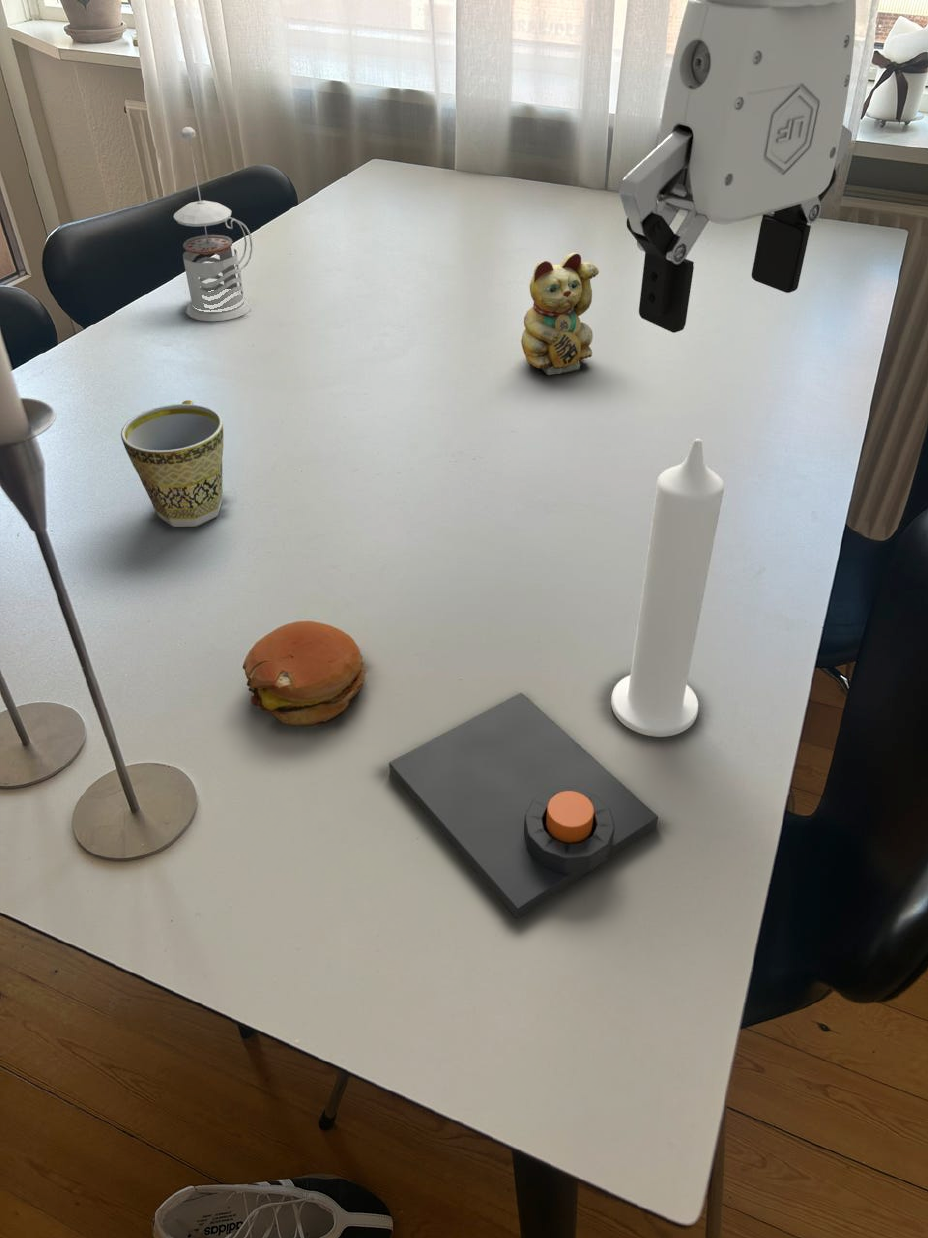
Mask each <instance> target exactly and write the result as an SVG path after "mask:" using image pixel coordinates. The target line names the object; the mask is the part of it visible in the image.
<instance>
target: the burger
mask: <svg viewBox="0 0 928 1238" xmlns="http://www.w3.org/2000/svg"><path fill="white" fill-rule="evenodd" d="M360 650H361V649H360V648H359V645H358V643H356V641H355V640H354V638H352V637H351V635H349V634H348V633H346V632H345V631H344V630H342V629H340V628H338V627H335V626H333V625H331V624H327V623H323V622H319V621H314V620H298V621H297V620H296V621H292V622H290V623H289V622H288V623H286V624H284V625H281V626H279V627H277V628H276V629H273V630H272V631H270V632H269V633H268V634H266V635H264V636H263V637H261V638H260V639H259V640H258V641H256V642H255V643H254V645H253V646H252V647H251V649H250V650H249V651H248V653H247V655H246V657H245V659H244V661H243V663H242V669H243V670H244V674H245V678H246V679H247V682H246V686H248V691H249V692H251V693H252V694H253V695H252V696H251V697H250V703H251V704H252V705H253V706H254V707H255V708H257V707H258V708H259V709H260V710H262V711H264V712H267V713H270V714H272V715H274V716H275V717H276V719H277V720H278V721H280V722H281V723H282V724H286V725H290V726H313V725H315V726H316V725H317V724H318V723H321V722H327V721H329V720H331V719H333V718H335V717H336V716H338V715H339V714H341V713H343V712H344V711H345V710H346V709H347V707H348V706H349V704H350V700H351V699H352V698H353V697H354V696H356V694H357V693H358V692H359V691H360V690H361V688H362V686H363V683H364V681H365V674H366V667H365V663H364V660H363V655H362V653H361V651H360Z"/></svg>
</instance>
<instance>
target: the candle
mask: <svg viewBox="0 0 928 1238" xmlns="http://www.w3.org/2000/svg"><path fill="white" fill-rule="evenodd" d="M724 491H725V484H724V481H723V479H722V478H721V477H720V476H719V475H718V474H717V473H716V472H715V471H713V470H712V469H710V468H708V467H707V465H706V464H705V461H704V453H703V441H702V439H700V438H695V439H694V440H693V442H692V443H691V445H690V449H689V451H688V453H687V455H686V457H685V459H684V460H683V461H682V463H680V464H677V465H674V466H671V467H668V468H667V469H665V470H663V472H661V473H660V475H659V476H658V478H657V481H656V487H655V496H654V502H653V503H654V504H653V508H652V509H653V510H652V517H651V524H650V532H649V539H648V546H647V553H646V554H647V555H646V560H645V567H644V573H643V582H642V589H641V597H640V602H639V603H640V604H639V610H638V611H639V612H638V618H637V626H636V631H635V632H636V633H635V640H634V646H633V654H632V660H631V661H632V663H631V668H630V669H631V670H630V674H629V675H627V676H624V677H623V678H621V679H620V680H619V681H618V682H617V683H616V684H615V686H614V688H613V690H612V692H611V700H610V704H611V709H612V711H613V714H614V715H615V717H616V719H617V720H619V722H620V723H621V724H622V725H624V726H625V727H626V728H628V729H629V730H631V731H633V732H635V733H637V734H640V735H644V736H648V737H654V738H655V737H657V738H664V737H671V736H677V735H679V734H680V733H683V732H685V731H687V730H688V729H689V728H690V727H691V726H692V725H693V724H694V723H695V722H696V720H697V716H698V713H699V700H698V697H697V695H696V693H695V691H693V689H692V687H690V686H689V685H688V680H689V679H688V678H689V674H690V669H691V665H692V657H693V653H694V649H695V642H696V637H697V633H698V627H699V623H700V622H699V621H700V616H701V611H702V607H703V601H704V596H705V590H706V586H707V580H708V574H709V569H710V564H711V559H712V554H713V549H714V544H715V540H716V533H717V527H718V523H719V518H720V513H721V506H722V502H723V497H724Z"/></svg>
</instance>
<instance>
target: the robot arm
mask: <svg viewBox="0 0 928 1238" xmlns="http://www.w3.org/2000/svg"><path fill="white" fill-rule="evenodd" d="M856 5H857V0H687V3H686V7H685V10H684V15H683V17H682V21H681V24H680V28H679V32H678V37H677V41H676V44H675V48H674V53H673V56H672V61H671V67H670V70H669V76H668V81H667V87H666V91H665V97H664V102H663V109H662V115H661V121H660V127H659V134H658V142H657V146H656V147H655V148H654V149H653V150H652V151H651V152H650V153H649V154H648V155H646V156H645V157H644V158H643V159H642V160H641V161H640V162H639V163H638V164H636V166H635V167H633V168H632V169H631V170H630V171H629V172H628V173H627V174H626V175H625V176H624V177H623V178H622V179H621V180H620V182H619V184H618V193H619V197H620V201H621V204H622V207H623V211H624V213H625V217H627V218H626V228H627V230H628V231H629V232H630V234H631V235H632V236H633V237H634V239H635V240H636V247H637V249H638V250H639V251H641V252H644V258H643V259H644V262H643V269H642V278H641V287H640V296H639V303H638V304H639V305H638V314H639V316H640V318H641V319H642V320H644V321H646V322H649V323H651V324H653V325H655V326H657V327H659V328H661V329H664V330H667V331H668V332H670V333H673V334H674V333H675V334H676V333H678V332H680V331H681V332H682V331H683V330H684V329H685V326H686V325H687V324H686V323H687V318H688V312H689V311H688V310H689V303H690V298H691V297H690V296H691V289H692V283H693V276H694V269H695V266H694V265H695V264H694V263H695V262H694V261H692V260H690V259H688V258H687V257H688V255H689V254H690V252H691V250H692V249H693V247H694V245H695V244H696V242H697V241H698V239H699V237H700V236H701V234H702V232H703V231H704V229H705V228H706V226H707V224H708V223H709V221H710V222H711V223H713V224H717V225H731V224H734V223H738V222H739V223H740V222H742V221H746V220H749V219H754V218H757V217H761V216H762V217H761V221H760V226H759V232H758V237H757V242H756V248H755V253H754V258H753V263H752V268H751V269H752V270H751V278H752V280H754V282H757V283H760V284H762V285H765V286H767V287H769V288H772V289H775V290H778V291H780V292H783V293H786V294H790V293H793V292H795V291H797V290H798V288H799V284H800V280H801V274H802V271H803V265H804V260H805V256H806V253H807V248H808V247H807V246H808V243H809V237H810V234H811V233H810V232H811V228H812V225H811V224H814V223H816V221H817V220H819V217H820V215H821V212H822V203H821V202H822V200H823V199H824V198H825V196H826V195H827V193H828V192H829V191H830V190H831V188H832V186H833V185H834V183H835V182H836V177H837V170H836V169H838V168H839V166H840V165H841V163H842V160H843V158H844V156H845V154H846V152H847V150H848V148H849V146H850V144H851V141H852V138H853V132H852V131H851V130H850V129H849V128H847V127H846V126H845V125H844V121H845V120H844V118H845V113H846V107H847V101H848V94H849V89H850V88H849V87H850V80H851V74H852V68H853V67H852V66H853V57H854V47H855V36H856V20H857V6H856ZM677 215H679V216H682V217H684V218H683V221H682V222H681V223H680V225H679V227H678V228H677V230H676V232H674V231H673V230H672V228H671V224H672V223H673V221H674V219H675V218H676V217H677Z"/></svg>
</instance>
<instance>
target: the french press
mask: <svg viewBox="0 0 928 1238" xmlns="http://www.w3.org/2000/svg"><path fill="white" fill-rule="evenodd" d="M180 135H181V138H183V139H188V142H189V143H188V144H189V148H190V152H191V159H192V165H193V171H194V175H195V176H194V177H195V182H196V187H197V193H198V199H199V200H197V201H193V202H190V203H187V204H186V205H184V206H183V207H181V208H180V209H178V210H177V211H176V212H174V214H173V219H174V221H176V222H177V224H179V225H182V226H186V227H196V228H197V227H204V232H205V235H199V236H198V235H196V236H195V237H191V238H187V239H186V240H185V241H184V242H183V243H182V248H183V249H184V250H185V251H184V252H183V254H182V259H183V265H184V270H185V275H186V279H187V281H186V282H187V285H188V292H189V296H190V301H191V302H190V303H189V305H188V306H187V307H186V312H185V313H186V315H187V316H188V317H189V318H192V319H194V320H197V321H202V322H203V321H204V322H225V321H228V320H229V321H230V320H233V319H238V318H239V317H242V316H244V315H247V314H248V313H249V312H250V311H251V310H252V308H253V307H252V306H253V303H252V302H250V301H249V299H247V297H244V302H243V303H242V304H241V305H240V306H238V307H237V308H234V309H232V310H228V311H222V312H204V311H199V310H197V309H201V310H210V311H211V310H218V309H224V308H227V307H231V306H233V305H235V304H237V303H238V302H240V301H241V300H242V299H243V294H244V289H243V281H242V274H241V272H242V270H243V269H245V267H246V266H247V265H248V264H249V263H250V260H251V257H252V254H253V240H252V235H251V232H250V230H249V229H248V226H247V225H246V224H245V223H244V222H242V221H241V220H238V219H236V218H234V217H231V216H232V210H231V209H230V208H229V207H227V206H226V205H223V204H221V203H219V202H216V201H209V200H202V197H201V192H200V187H199V180H198V175H197V169H196V163H195V159H194V158H195V157H194V152H193V147H192V140H191V139H193V138H196V137H197V133H196V131H195V129H193V128H192V127H191V126H186V127H183V128H182V130H181V131H180ZM228 220H230V226H229V225H228ZM233 222H235V223H236V224H238V226H239V228H240V230H241V231H242V234H243V239H244V249H243V254H242V256H241V258H240V260H239V257H238V251H237V250H236V249H235V248H233V251H232V246H233V244H234V243H233V242H234V240H233V239H232V238H231V237H229V236H227V235H222V234H219V235H218V234H208V232H207V227H210V226H215V225H216V226H217V225H219V224H222V223H225V227H226V228H227V229H230V230H233V229H234V228H233ZM243 227H244V228H243ZM244 229H245V230H246V232H247V235H248V237H249V245H250V250H249V257H248V259H247V260H246V262H245V263H244V264H243V265H242V266H241V267H240V264H241V263H242V262H243V259H244V258H245V256H246V252H247V244H248V243H247V235H246V233H245V230H244ZM233 252H234V255H233ZM212 254H215V255H217V256H219V258H216V257H211V256H204V257H201V258H199V259H197V260H196V261H194V260H195V259H196V258H197V257H198V256H200V255H212ZM219 274H222V275H219ZM236 274H237V275H236ZM209 279H211V280H214V281H209V282H207V283H206V282H204V281H206V280H209ZM222 282H223V283H222ZM238 283H239V285H238ZM225 289H231V290H229V291H228V292H226V293H225V294H224V295H222V296H221V297H220V298H218V299H214V300H211V301H208V300H205V299H203V298H202V295H204V296H207V297H210V296H214V295H217V294H219V293H220V292H222V291H223V290H225ZM211 290H214V291H211ZM208 291H211V292H208ZM237 291H238V292H240V294H239V295H237V296H234V297H233V298H231V299H230V300H229V301H227V302H226V303H224V304H223V305H222V306H220V307H217V308H214V309H209V308H205V307H204V304H207V305H214V304H218V303H220V302H221V301H223V300H224V299H225V298H227V297H228V296H230V295H231V294H233V293H234V292H237ZM241 294H242V295H241ZM203 303H204V304H203ZM192 305H193V306H194V307H195V308H197V309H195V308H194V307H193V306H192Z"/></svg>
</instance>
